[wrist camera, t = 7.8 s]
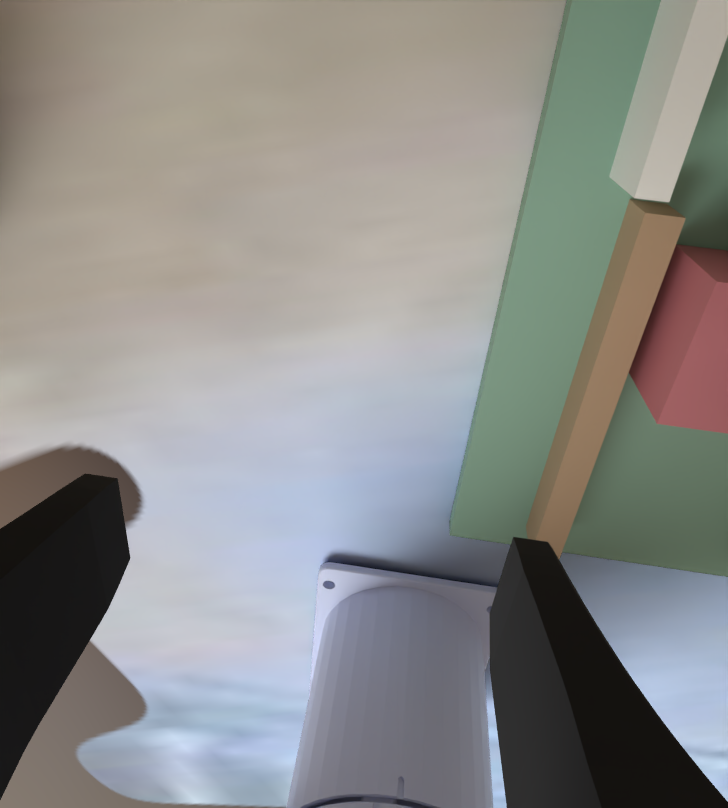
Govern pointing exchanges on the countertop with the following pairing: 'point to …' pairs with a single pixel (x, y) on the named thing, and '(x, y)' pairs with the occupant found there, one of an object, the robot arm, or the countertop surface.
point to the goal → (669, 96)
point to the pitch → (597, 327)
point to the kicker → (687, 343)
